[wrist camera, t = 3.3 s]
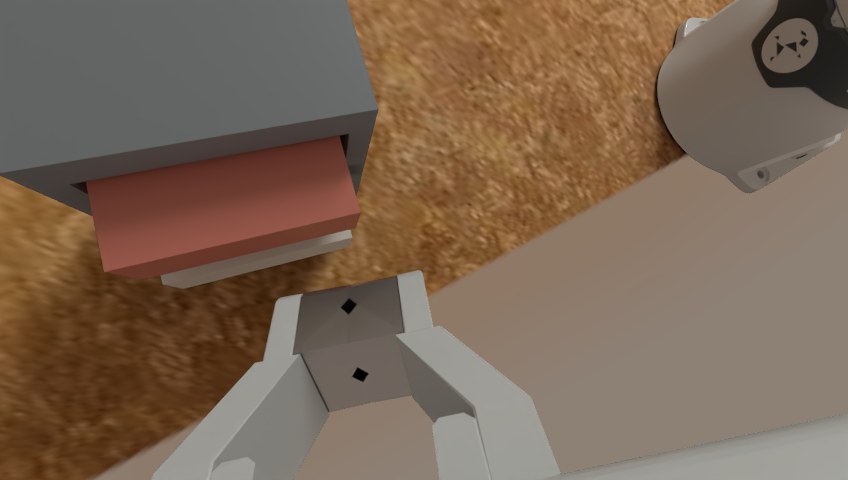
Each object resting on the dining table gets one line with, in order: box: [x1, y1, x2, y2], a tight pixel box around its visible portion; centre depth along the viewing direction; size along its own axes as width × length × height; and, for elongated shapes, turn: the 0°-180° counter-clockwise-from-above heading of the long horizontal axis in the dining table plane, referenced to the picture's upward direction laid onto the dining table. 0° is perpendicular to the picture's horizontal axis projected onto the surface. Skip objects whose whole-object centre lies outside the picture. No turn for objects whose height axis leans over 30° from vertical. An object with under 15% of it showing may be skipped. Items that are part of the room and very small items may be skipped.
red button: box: [86, 136, 361, 280], centre depth 19 cm, size 4×10×3 cm, turn 106°
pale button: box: [160, 230, 352, 289], centre depth 25 cm, size 4×10×3 cm, turn 106°
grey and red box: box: [0, 0, 378, 216], centre depth 24 cm, size 7×13×16 cm, turn 106°
